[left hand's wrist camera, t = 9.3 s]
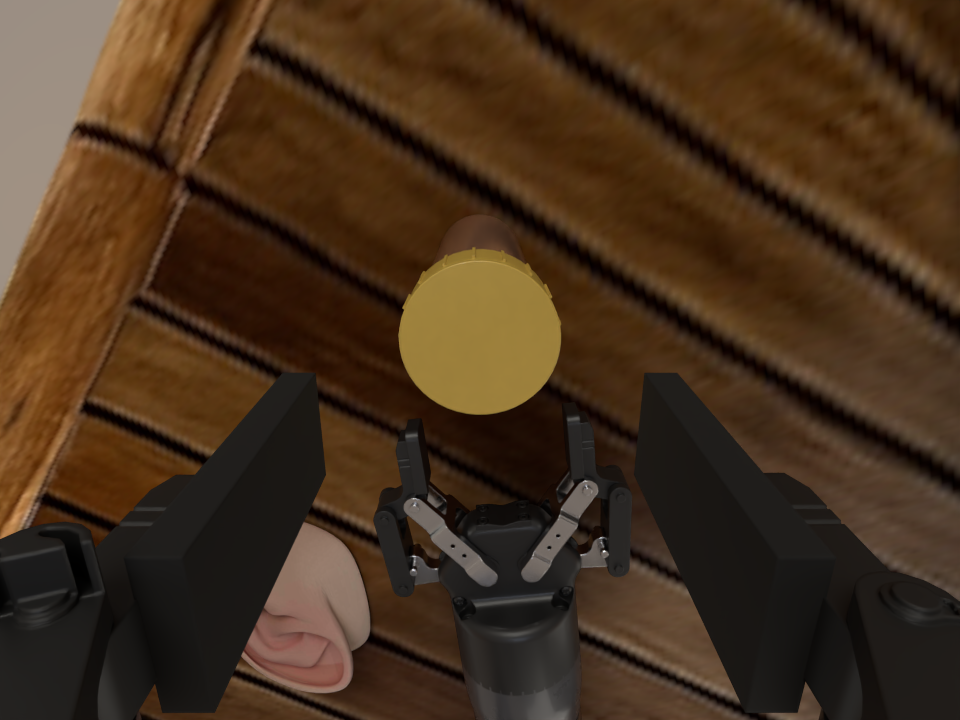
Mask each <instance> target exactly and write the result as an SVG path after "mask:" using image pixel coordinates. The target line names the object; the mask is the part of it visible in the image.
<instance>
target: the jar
mask: <svg viewBox="0 0 960 720" xmlns="http://www.w3.org/2000/svg"><path fill="white" fill-rule="evenodd" d="M473 247H475V249H487V250H495V251H499V252H501V250H503V251H504V253H505V254H508V255H511V256H513V257H515V258H516V259H518V260H520V261H522V262H523V263H524V264H527V262H526V259H525V257H524V254H523V252H522V249H521V247H520V244H519V242H518V239H517V237H516V235H515V234H514V232H513V231H512V230H511V228H510V227H509V226H508V225H507V224H505V223H504V222H503V221H501V220H499V219H497V218H495V217H492V216H488V215H472V216H468V217H465V218H463V219H461V220H459V221H457V222H456V223H455V224H453V225H452V226H451V227H450V228H449V229H448V231H447V232H446V234H445V235H444V237H443V239H442V242H441V244H440V247H439V249H438V252H437V254H436V257H435V259H434V262H433V264H432V266H433V265H434V264H435V263H437V262H439V261H440V260H442V259H443V258H444V256H445V255H448V256H450V255H452V254H454V253H458V252H461V251H466V250H472V248H473Z"/></svg>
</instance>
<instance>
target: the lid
mask: <svg viewBox="0 0 960 720" xmlns="http://www.w3.org/2000/svg"><path fill="white" fill-rule="evenodd" d="M551 298H552V295H551V293H550V291H549V289H548V287H547V285H546V284H545V285H544V284H543V283H542V281H541V280H540V278H539V277H538V276H537V275H536V273H535V272H534V271H533V270H532V269H531V268H530V265H529V264H528V263H527V264H524V263H523V262H522V261H520V260H518V259H516V258H515V257H513V256H511V255H508V254H505V253H504V251H503V250H501V252H499V251H495V250H487V249H475V247H473V248H472V250H466V251H461V252H458V253H454V254H452V255H450V256H448V255H445V256H444V258H443V259H442V260H440V261H439V262H437V263H435V264H434V265H433V266H432V267H431V268H429V269H428V270H427V271H426V272H425V271H423V272H422V274H421V277H420V279H419V281H418V283H417V284H416V286H415V288H414V290H413V292H412V294H411V295H410V294H409V295H408V297H407V300H406V302H405V304H404V306H403V309H404V312H403V315H402V318H401V323H400V328H399V334H398V337H399V346H400V352H401V357H402V360H403V363H404V365H405V368H406V370H407V372H408V374H409V376H410V377H411V379H412V380H413V381H414V383H415V384H416V385H417V386H418V388H419V389H420V390H421V391H422V392H423V393H424V394H426V395H427V396H428V397H429V398H430V399H432V400H433V401H435V402H437V403H438V404H440V405H442V406H444V407H446V408H448V409H451V410H454V411H457V412H462V413H466V414H476V415H482V414H493V413H499V412H502V411H506V410H509V409H511V408H514V407H516V406H518V405H520V404H522V403H523V402H525V401H527V400H528V399H529V398H531V397H532V396H533V395H534V394H536V393H537V392H538V391H539V390H540V389H541V388H542V386H543V385H544V384H545V383H546V382H547V380H548V379H549V377H550V375H551V374H552V372H553V370H554V368H555V365H556V363H557V360H558V356H559V352H560V346H561V329H560V325H561V322H560V319H559V317H558V315H557V312H556V310H555V307H554V305H553V303H552V300H551Z"/></svg>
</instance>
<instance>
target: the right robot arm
mask: <svg viewBox="0 0 960 720" xmlns="http://www.w3.org/2000/svg"><path fill="white" fill-rule="evenodd" d="M562 413H563V426H564V439H565V451H566V461H567V464H568V468H567V470H566V471H565V473H564V474H563V475H562V477H561V478H560V479H559V481H558V482H557V483H556V484H552V485H551V486H550V487H549V489H548V490H547V491H546V493H545V494H544V495H543V497H542V498H541V500H540V501H539V502H538V504H537V505H533V504H529V500H522V501H514V502H512V503H509V504H506V505H494V504H482V505H476V509H475V510H473V511H471V512H470V511H469V510H468V509H467V508H466V507H465V506H463V505H462V504H461V503H460V502H459V501H458V500H457V499H455V498H454V497H453V496H452V495H445V494H444V493H443V492H442V491H440V490H439V489H438V488H437V487H436V486H435V485H434V484H432V483H431V482H430V475H431V470H430V464H429V459H428V453H427V447H426V441H425V435H424V429H423V423H422V419H421V418H419V419H410V420H408V423H407V427H406V430H401V433H400V436H399V440H398V444H397V448H396V455H397V460H398V466H399V471H400V476H401V481H402V485H401V486H399V487H397V488H385V489H384V490H383V491H382V492H381V494H380V498H379V504H378V508H377V510H376V512H375V515H374V520H373V521H374V525H375V528H376V532H377V535H378V539H379V542H380V545H381V549H382V552H383V556H384V559H385V563H386V566H387V570H388V573H389V577H390V580H391V584H392V587H393V590H394V592H395V594H397V595H398V596H401V597H407V596H410V595H411V594H412V593H413V591H414V585H418V584H425V583H432V582H439V581H440V582H441V584H442V585H443V586H444V587H445V588H446V589H447V591H448V592H449V594H450V597H451V602H452V608H453V614H454V620H455V625H456V631H457V637H458V643H459V649H460V655H461V661H462V667H463V672H464V678H465V684H466V689H467V692H468V696H469V699H470V702H471V704H472V707H473V710H474V714H475V720H582V719H581V707H580V692H581V682H582V673H581V658H580V644H579V632H578V620H577V607H576V595H575V579H576V577H577V575H578V573H579V571H580V569H581V568H586V567H608V571H609V573H610V574H611V575H612V576H614V577H622V576H624V575H626V574H627V573H628V571H629V563H630V535H631V506H632V494H631V492H630V489H629V487H628V485H627V482H626V480H625V478H624V475H623V473H622V471H621V469H620V468H619V467H618V466H616V465H609V466H607V467H601V466H598V465H596V464H595V450H594V433H593V428H592V426H591V423H590V421H589V418H588V417H587V415H586V413H585V411H582V412H578V410H577V407H576V404H575V402H573V403H564V404H562ZM595 497H597V498H601V527H600V526H595V527H594V528H593V531H592V532H591V533H590V536H589V539H588V541H587V542H586V543H584V544H582V545H578V544H577V542H576V541H575V540H574V539H573V538H572V537H571V535H572V534H573V532H574V531H575V530H576V528H577V526H578V523H579V518H580V516H581V515H582V513H583V512H584V511H585V509H586V508H587V507H588V505H589V504H590V503H591V502H592V500H593V499H594V498H595ZM407 516H410V517H411V518H412V519H413V520H414V521H416V522H417V523H418V524H419V525H420V526H422V527H423V528H424V529H425V530H426V531H427V532H428V533H429V535H430V538H431V540H432V541H433V543H434V544H436V545H437V546H438V547H439V548H440V549H442V552H441V554H440V556H439V559H433V558H430V557H429V556H428V555H427V554H426V552H425V550H424V549H423V548H422V547H421V545H420V544H415V545H414V544H413V540H412V536H411V532H410V529H409V525H408V521H407Z"/></svg>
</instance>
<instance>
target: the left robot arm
mask: <svg viewBox="0 0 960 720" xmlns="http://www.w3.org/2000/svg"><path fill="white" fill-rule="evenodd" d="M325 476H326V471H325V461H324V452H323V442H322V432H321V422H320V413H319V403H318V393H317V384H316V374H315V373H283V374H282V375H281V376H280V377H279V378H278V379H277V380H276V382H275V383H274V384H273V385H272V386H271V387H270V389H269V390H268V391H267V392H266V393H265V394H264V396H263V397H262V398H261V399H260V400H259V401H258V402H257V404H256V405H255V406H254V407H253V408H252V409H251V411H250V412H249V413H248V414H247V415H246V416H245V418H244V419H243V420H242V421H241V422H240V423H239V424H238V426H237V427H236V428H235V429H234V430H233V431H232V433H231V434H230V435H229V436H228V437H227V438H226V440H225V441H224V442H223V443H222V444H221V445H220V446H219V448H218V449H217V450H216V451H215V452H214V453H213V455H212V456H211V457H210V458H209V459H208V460H207V462H206V463H205V464H204V465H203V466H202V467H201V469H200V470H199V471H198V472H197V473H196V474H195V475H175V476H173V477H172V478H170V479H168V480H167V481H165V482H163V483H162V484H160V485H158V486H157V487H155V488H153V489H152V490H150V491H149V492H148V493H147V494H146V496H145V497H144V498H143V499H142V500H141V501H140V502H139V503H138V504H137V505H136V506H135V507H134V511H130V512H129V513H128V514H127V515H126V516H125V518H124V519H123V520H122V521H121V522H120V525H119V526H116V527H115V528H114V529H113V530H112V531H111V532H110V533H109V534H108V535H107V536H106V537H105V539H104V540H103V541H102V542H101V543H100V544H99V545H98V546H97V547H96V548H95V546H94V542H93V538H92V534H91V531H90V530H89V529H88V528H86V527H85V526H83V525H82V524H77V523H70V522H58V523H49V524H42V525H38V526H35V527H31V528H28V529H24V530H20V531H18V532H16V533H13V534H11V535H9V536H7V537H4V538H2V539H0V720H141V716H140V713H139V709H140V707H141V706H142V704H143V702H144V701H145V699H146V697H147V696H148V694H149V692H150V691H151V689H152V687H153V686H154V684H155V685H156V689H157V693H158V697H159V701H160V705H161V709H162V713H215V711H216V709H217V707H218V705H219V702H220V700H221V698H222V696H223V694H224V692H225V690H226V687H227V685H228V683H229V681H230V679H231V677H232V675H233V672H234V670H235V668H236V666H237V664H238V662H239V660H240V657H241V655H242V653H243V651H244V649H245V647H246V645H247V643H248V640H249V638H250V636H251V634H252V632H253V630H254V628H255V625H256V623H257V621H258V619H259V617H260V615H261V613H262V610H263V608H264V606H265V604H266V602H267V600H268V598H269V595H270V593H271V591H272V589H273V587H274V585H275V583H276V580H277V578H278V576H279V574H280V572H281V570H282V568H283V565H284V563H285V561H286V559H287V557H288V555H289V553H290V550H291V548H292V546H293V544H294V542H295V540H296V538H297V535H298V533H299V531H300V529H301V527H302V525H303V523H304V520H305V518H306V516H307V514H308V512H309V510H310V508H311V506H312V503H313V501H314V499H315V497H316V495H317V493H318V491H319V488H320V486H321V484H322V482H323V480H324V478H325ZM634 476H635V478H636V480H637V482H638V484H639V486H640V488H641V491H642V493H643V495H644V497H645V499H646V501H647V503H648V506H649V508H650V510H651V512H652V514H653V516H654V518H655V520H656V523H657V525H658V527H659V529H660V531H661V533H662V535H663V538H664V540H665V542H666V544H667V546H668V548H669V550H670V553H671V555H672V557H673V559H674V561H675V563H676V565H677V568H678V570H679V572H680V574H681V576H682V578H683V580H684V583H685V585H686V587H687V589H688V591H689V593H690V595H691V598H692V600H693V602H694V604H695V606H696V608H697V610H698V613H699V615H700V617H701V619H702V621H703V623H704V625H705V628H706V630H707V632H708V634H709V636H710V638H711V640H712V643H713V645H714V647H715V649H716V651H717V653H718V655H719V657H720V660H721V662H722V664H723V666H724V668H725V670H726V672H727V675H728V677H729V679H730V681H731V683H732V685H733V687H734V690H735V692H736V694H737V696H738V698H739V700H740V702H741V705H742V707H743V709H744V711H745V713H798V709H799V705H800V701H801V697H802V693H803V689H804V685H805V681H806V683H807V684H808V686H809V688H810V689H811V691H812V693H813V694H814V696H815V698H816V699H817V701H818V703H819V704H820V706H821V707H822V709H821V713H820V716H819V720H960V602H959V601H958V600H957V599H955V598H954V597H953V596H951V595H950V594H949V593H947V592H946V591H944V590H942V589H940V588H938V587H936V586H934V585H932V584H930V583H928V582H926V581H924V580H921V579H918V578H915V577H912V576H908V575H905V574H902V573H895V572H890V571H889V570H888V569H887V568H886V567H885V566H884V565H883V564H882V563H881V562H880V561H879V560H878V559H877V558H876V557H875V556H874V554H873V553H872V552H871V551H870V550H869V549H868V548H867V547H866V546H865V545H864V544H863V543H862V542H861V541H860V540H859V539H858V538H857V537H856V536H855V535H854V534H853V533H852V532H851V531H850V529H849V528H848V527H847V526H846V525H845V524H841V520H840V519H839V518H838V517H837V516H836V515H835V514H834V513H833V512H832V511H831V510H830V509H827V506H826V504H825V503H824V502H823V501H822V500H821V499H820V498H819V497H818V496H817V495H816V494H815V493H814V492H813V491H812V490H811V489H810V488H809V487H807V486H805V485H804V484H802V483H800V482H799V481H797V480H795V479H794V478H792V477H790V476H788V475H787V474H785V473H763V472H762V471H761V470H760V469H759V467H758V466H757V465H756V464H755V463H754V462H753V460H752V459H751V458H750V457H749V456H748V455H747V453H746V452H745V451H744V450H743V449H742V448H741V446H740V445H739V444H738V443H737V442H736V441H735V440H734V438H733V437H732V436H731V435H730V434H729V433H728V431H727V430H726V429H725V428H724V427H723V426H722V424H721V423H720V422H719V421H718V420H717V419H716V418H715V416H714V415H713V414H712V413H711V412H710V411H709V409H708V408H707V407H706V406H705V405H704V404H703V402H702V401H701V400H700V399H699V398H698V397H697V396H696V394H695V393H694V392H693V391H692V390H691V389H690V387H689V386H688V385H687V384H686V383H685V382H684V380H683V379H682V378H681V377H680V376H679V375H678V374H677V373H645V374H644V383H643V393H642V403H641V413H640V422H639V432H638V442H637V452H636V461H635V471H634Z"/></svg>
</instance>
